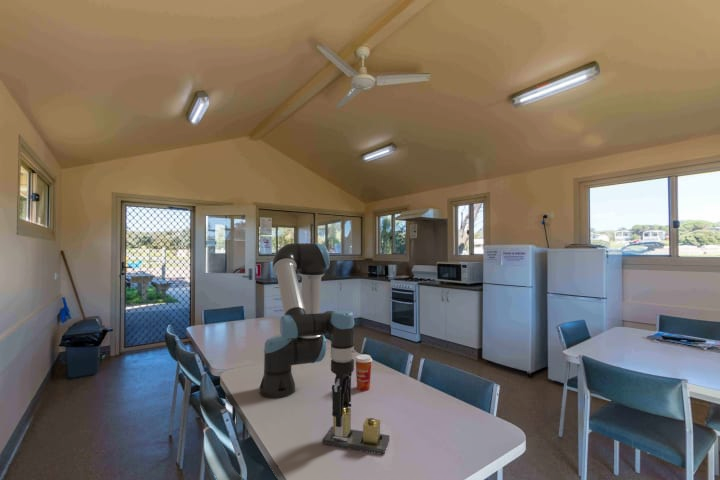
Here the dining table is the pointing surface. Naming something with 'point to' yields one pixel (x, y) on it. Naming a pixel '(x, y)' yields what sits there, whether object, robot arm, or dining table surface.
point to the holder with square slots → (362, 438)
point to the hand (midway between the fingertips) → (341, 431)
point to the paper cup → (363, 372)
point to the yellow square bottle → (345, 421)
